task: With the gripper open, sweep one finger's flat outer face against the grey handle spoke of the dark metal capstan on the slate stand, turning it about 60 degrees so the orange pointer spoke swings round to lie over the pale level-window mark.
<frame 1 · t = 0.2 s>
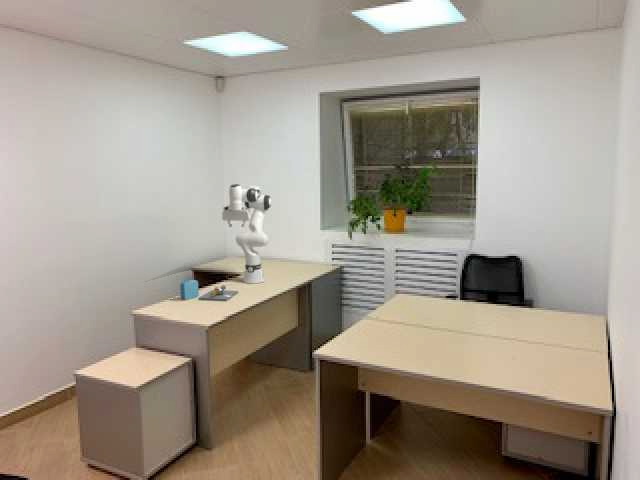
hand: (236, 226, 346), 47 cm above the table, fingers open, 8 cm apart
capstan: (218, 290, 339), point 4 cm above the table, hinge at 0.0°
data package: (189, 298, 336), on the table
stand: (219, 296, 340), on the table
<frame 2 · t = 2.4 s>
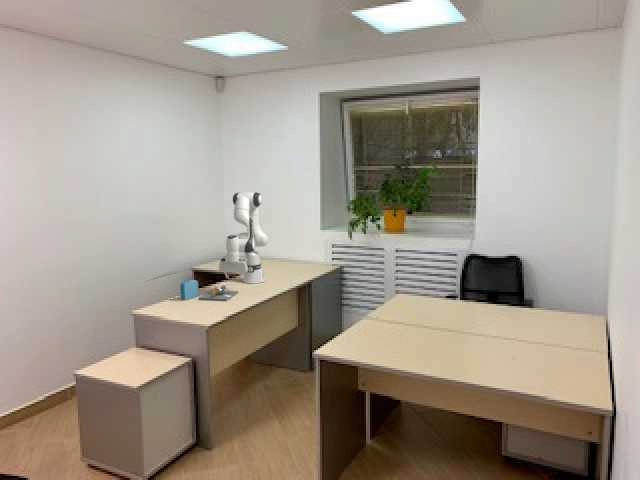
hand: (233, 278, 341), 12 cm above the table, fingers open, 8 cm apart
nothing on the table moved.
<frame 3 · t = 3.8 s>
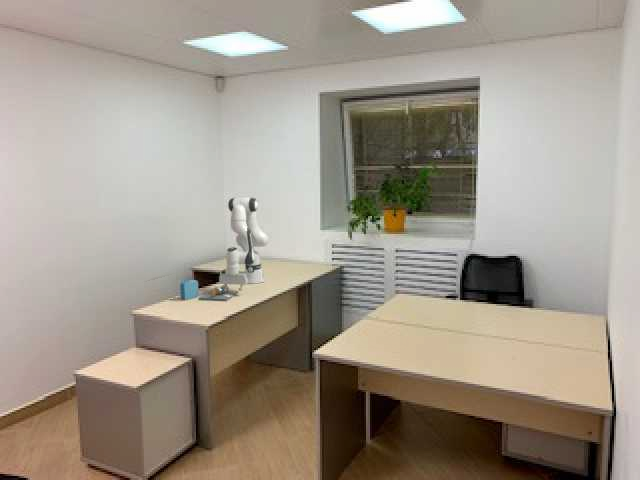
hand: (233, 290, 342), 4 cm above the table, fingers open, 8 cm apart
nothing on the table moved.
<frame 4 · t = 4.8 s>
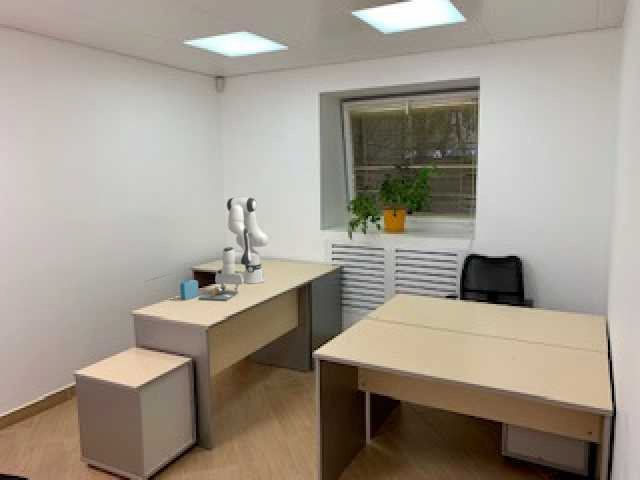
hand: (229, 290, 343), 4 cm above the table, fingers open, 8 cm apart
capstan: (218, 290, 339), point 4 cm above the table, hinge at 0.0°, touching gripper
everything else where it was.
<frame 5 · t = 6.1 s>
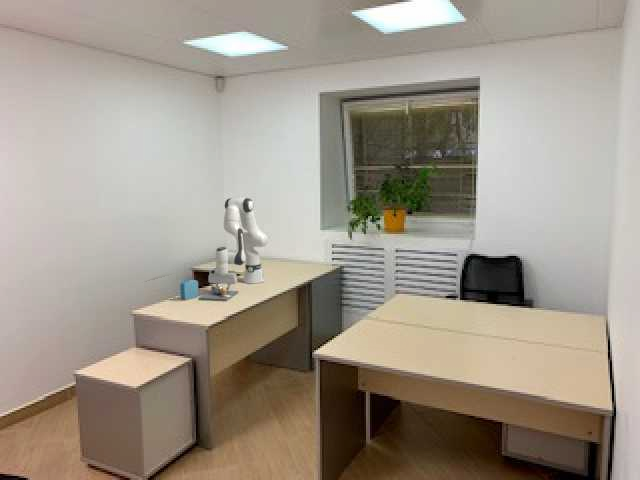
hand: (223, 289, 344), 4 cm above the table, fingers open, 6 cm apart
capstan: (218, 290, 339), point 4 cm above the table, hinge at 49.5°, touching gripper
everything else where it was.
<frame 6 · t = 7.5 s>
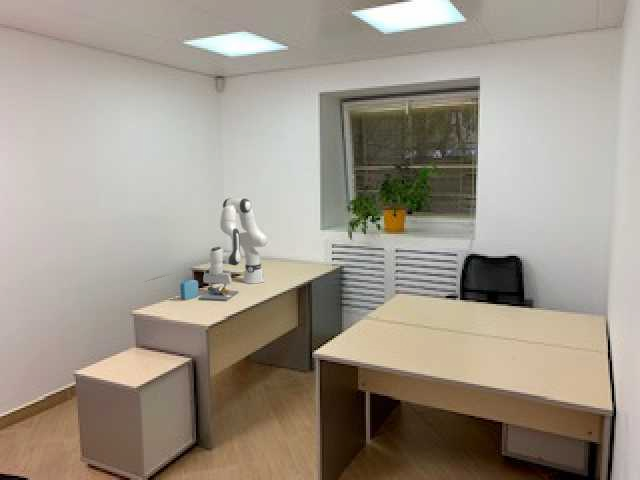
hand: (217, 289, 345), 4 cm above the table, fingers open, 8 cm apart
capstan: (218, 290, 339), point 4 cm above the table, hinge at 69.2°, touching gripper
everything else where it was.
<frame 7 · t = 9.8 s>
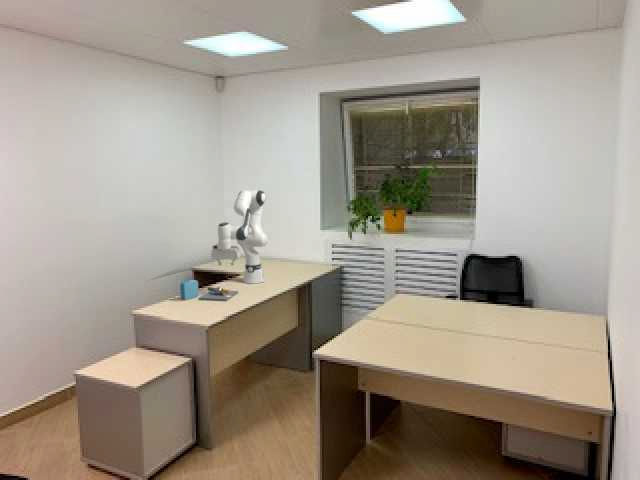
hand: (226, 265, 344), 21 cm above the table, fingers open, 8 cm apart
capstan: (218, 290, 339), point 4 cm above the table, hinge at 69.3°
everything else where it was.
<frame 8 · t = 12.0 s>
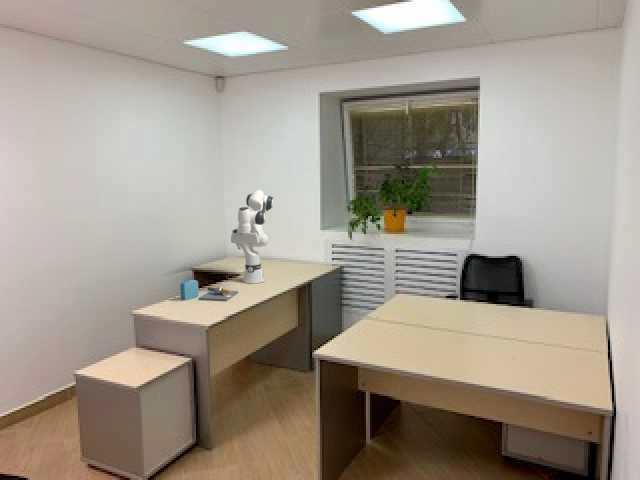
hand: (245, 249, 347), 31 cm above the table, fingers open, 8 cm apart
nothing on the table moved.
at the end: capstan at +69° (first picture: +0°) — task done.
